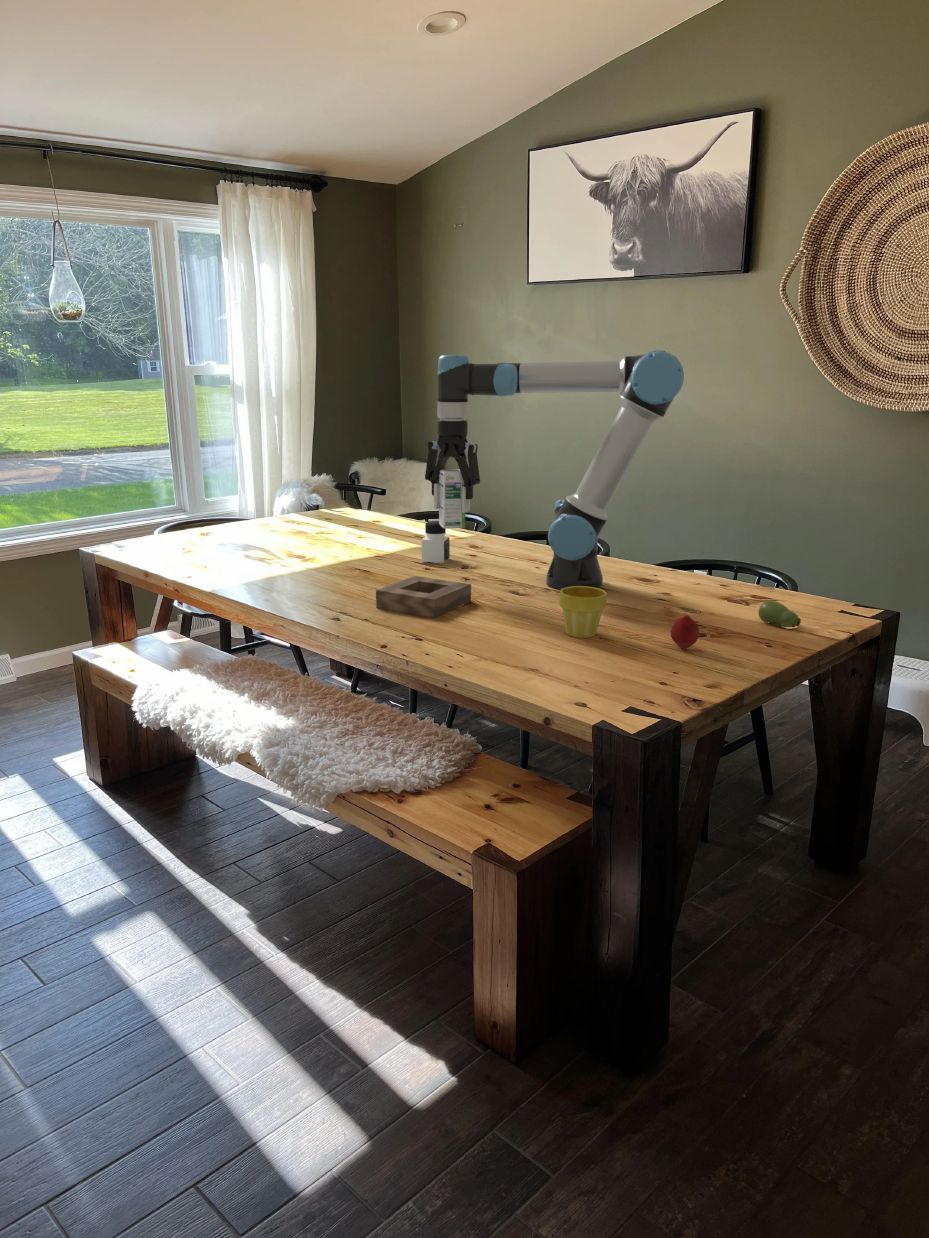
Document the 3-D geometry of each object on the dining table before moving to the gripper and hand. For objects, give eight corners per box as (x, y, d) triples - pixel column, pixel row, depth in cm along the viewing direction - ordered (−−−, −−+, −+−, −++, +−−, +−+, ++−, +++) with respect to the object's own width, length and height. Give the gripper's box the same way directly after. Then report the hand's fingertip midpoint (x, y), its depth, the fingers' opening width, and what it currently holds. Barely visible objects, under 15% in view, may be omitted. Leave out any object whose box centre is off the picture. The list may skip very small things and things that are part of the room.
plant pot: (612, 631, 201) (614, 589, 198) (594, 643, 192) (596, 599, 190) (569, 624, 206) (571, 583, 203) (550, 636, 197) (551, 593, 195)
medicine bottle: (444, 563, 266) (444, 524, 262) (421, 562, 267) (420, 523, 264) (449, 558, 273) (449, 519, 269) (427, 557, 274) (426, 519, 271)
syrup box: (443, 529, 227) (443, 471, 222) (438, 524, 232) (438, 468, 228) (465, 528, 228) (466, 471, 224) (460, 524, 233) (460, 468, 229)
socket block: (471, 601, 225) (471, 584, 224) (434, 617, 211) (434, 599, 210) (415, 592, 234) (415, 575, 232) (376, 607, 220) (375, 590, 218)
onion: (693, 644, 191) (696, 609, 189) (701, 653, 186) (704, 616, 184) (666, 645, 191) (668, 609, 189) (673, 653, 186) (676, 616, 183)
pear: (771, 595, 209) (808, 611, 202) (766, 616, 211) (802, 633, 204) (756, 599, 206) (793, 615, 199) (751, 620, 208) (787, 637, 201)
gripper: (496, 420, 220) (494, 512, 226) (427, 416, 231) (427, 504, 237) (479, 422, 214) (478, 516, 220) (410, 418, 225) (410, 508, 231)
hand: (451, 510), depth 229 cm, fingers closed on syrup box, 8 cm apart
